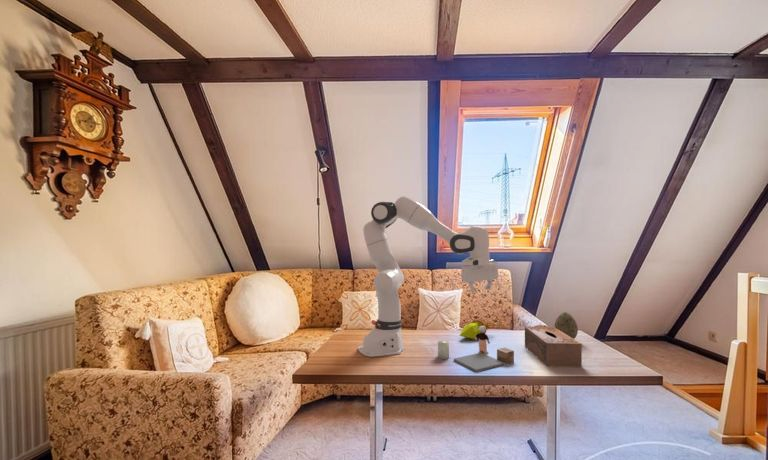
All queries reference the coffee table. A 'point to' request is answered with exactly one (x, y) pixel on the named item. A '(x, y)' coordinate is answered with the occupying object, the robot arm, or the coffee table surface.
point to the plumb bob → (473, 329)
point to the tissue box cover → (553, 346)
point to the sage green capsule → (443, 349)
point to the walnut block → (505, 355)
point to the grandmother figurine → (482, 340)
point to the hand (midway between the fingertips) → (480, 290)
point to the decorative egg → (566, 324)
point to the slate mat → (478, 362)
